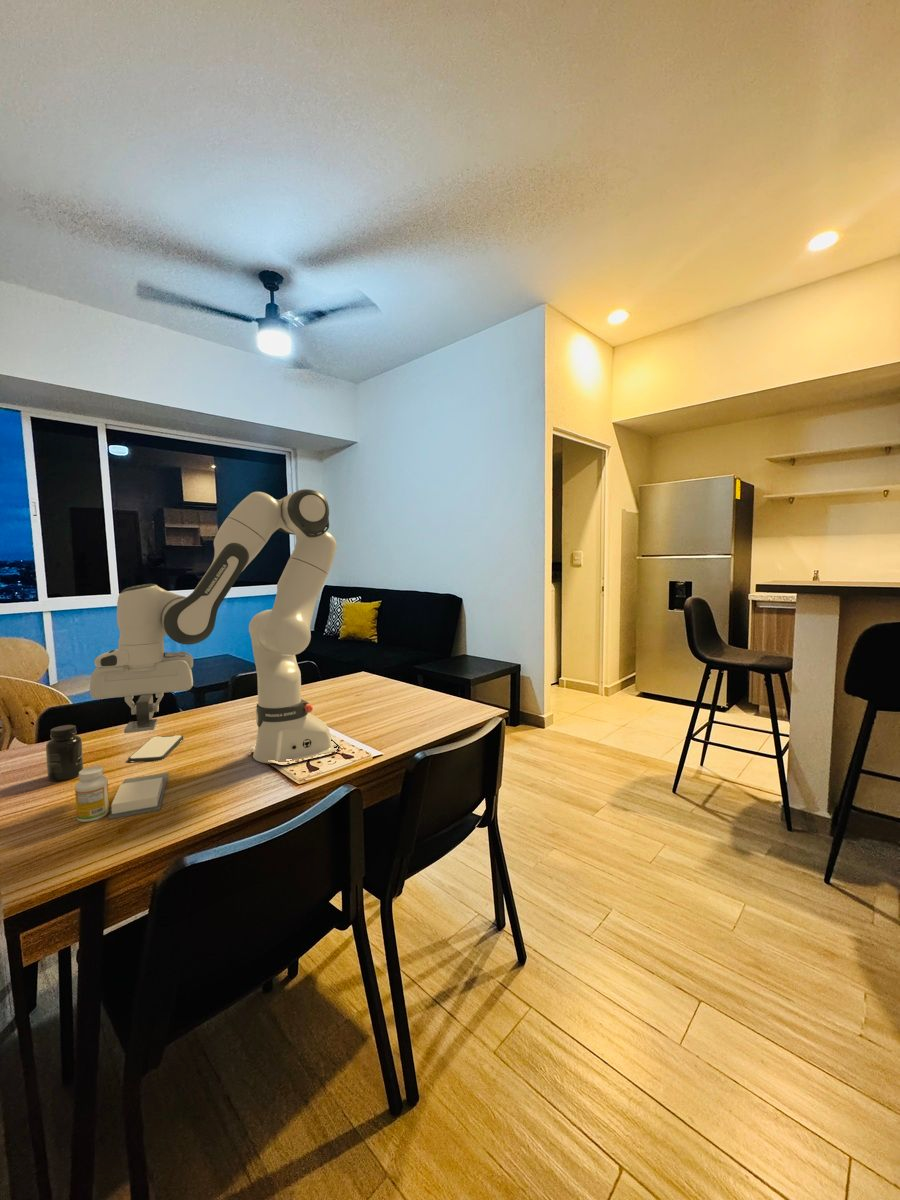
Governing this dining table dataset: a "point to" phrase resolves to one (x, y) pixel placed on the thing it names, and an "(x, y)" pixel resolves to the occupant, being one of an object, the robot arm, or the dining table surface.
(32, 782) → the dining table surface
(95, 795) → the supplement bottle
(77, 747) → the supplement bottle
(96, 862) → the dining table surface
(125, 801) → the tile
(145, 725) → the grey post on base
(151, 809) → the mat
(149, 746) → the phone case
